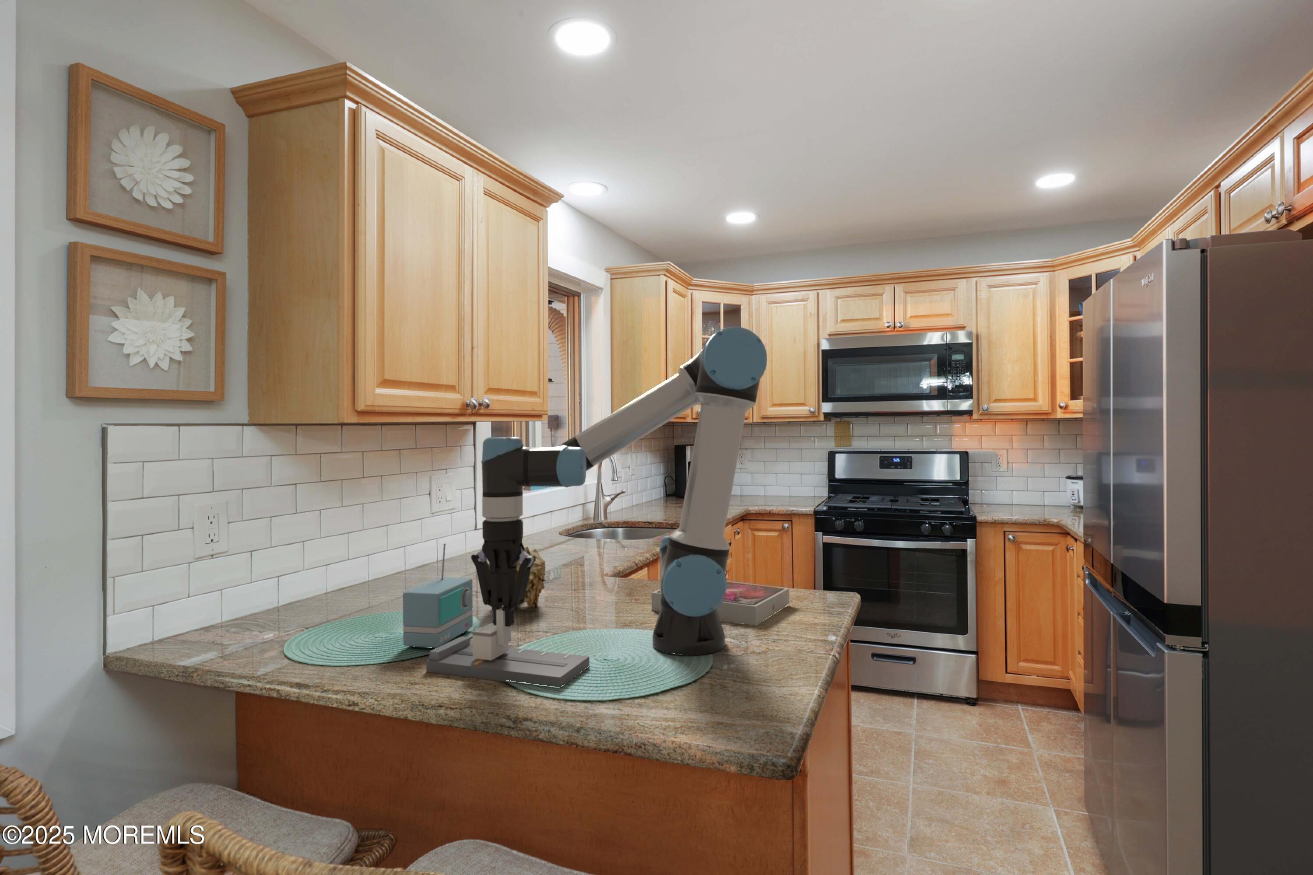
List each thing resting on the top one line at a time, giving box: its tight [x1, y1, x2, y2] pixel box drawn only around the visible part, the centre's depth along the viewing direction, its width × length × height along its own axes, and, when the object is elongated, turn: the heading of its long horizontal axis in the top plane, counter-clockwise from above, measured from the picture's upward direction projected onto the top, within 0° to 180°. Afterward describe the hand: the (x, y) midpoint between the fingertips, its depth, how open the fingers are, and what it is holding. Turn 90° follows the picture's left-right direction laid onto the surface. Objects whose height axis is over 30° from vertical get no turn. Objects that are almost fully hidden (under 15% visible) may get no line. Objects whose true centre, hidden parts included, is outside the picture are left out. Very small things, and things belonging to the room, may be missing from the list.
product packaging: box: [651, 580, 790, 626], centre depth 175 cm, size 22×28×5 cm
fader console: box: [425, 636, 590, 687], centre depth 130 cm, size 28×12×4 cm, turn 71°
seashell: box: [488, 546, 547, 612], centre depth 175 cm, size 18×18×15 cm
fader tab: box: [471, 622, 510, 660], centre depth 131 cm, size 4×6×5 cm
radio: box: [402, 543, 474, 648], centre depth 149 cm, size 16×9×20 cm, turn 168°
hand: (503, 642), depth 130 cm, fingers closed
